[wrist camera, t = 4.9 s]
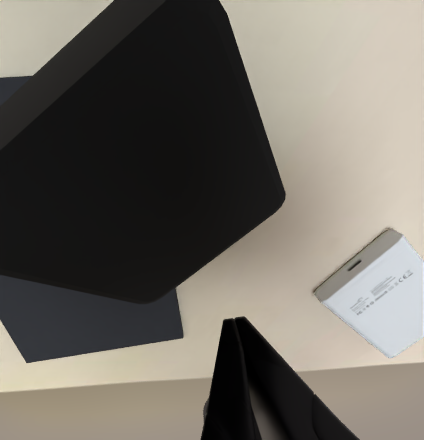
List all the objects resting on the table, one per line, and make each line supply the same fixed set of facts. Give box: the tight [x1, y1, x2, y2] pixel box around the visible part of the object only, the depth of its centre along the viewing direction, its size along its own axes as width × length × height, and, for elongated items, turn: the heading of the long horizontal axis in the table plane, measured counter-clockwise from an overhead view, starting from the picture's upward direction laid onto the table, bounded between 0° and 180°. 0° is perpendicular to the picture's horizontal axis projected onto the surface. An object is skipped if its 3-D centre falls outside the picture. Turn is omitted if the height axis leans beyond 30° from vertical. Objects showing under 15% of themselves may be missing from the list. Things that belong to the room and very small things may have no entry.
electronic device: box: [0, 0, 286, 304], centre depth 10 cm, size 4×10×10 cm
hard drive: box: [314, 229, 424, 358], centre depth 21 cm, size 2×8×12 cm
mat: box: [0, 76, 183, 363], centre depth 16 cm, size 20×13×1 cm, turn 4°
